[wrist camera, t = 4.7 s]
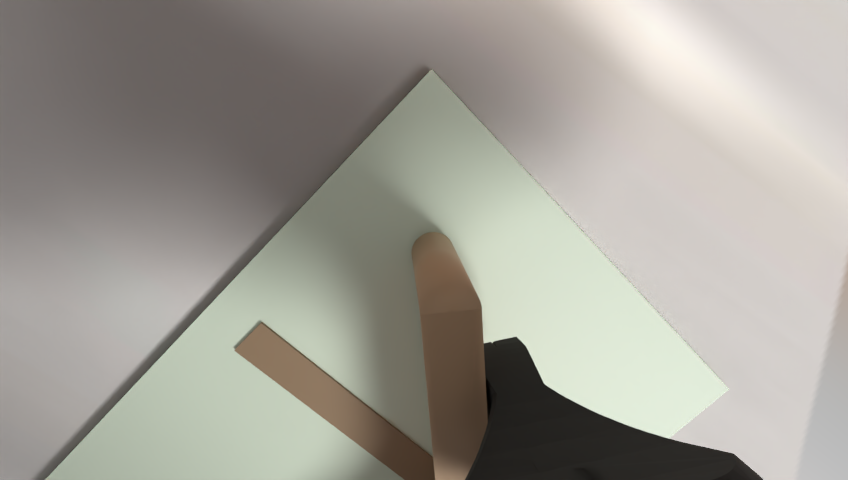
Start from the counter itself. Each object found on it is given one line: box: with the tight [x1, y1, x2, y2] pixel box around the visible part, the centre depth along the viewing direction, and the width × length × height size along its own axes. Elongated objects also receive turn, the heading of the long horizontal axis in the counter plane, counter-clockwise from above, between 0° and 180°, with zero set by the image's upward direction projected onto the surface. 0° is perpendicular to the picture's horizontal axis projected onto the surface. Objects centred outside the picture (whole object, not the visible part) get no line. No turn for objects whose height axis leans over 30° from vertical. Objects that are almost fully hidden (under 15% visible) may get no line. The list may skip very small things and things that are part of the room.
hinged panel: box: [412, 232, 488, 480], centre depth 11 cm, size 1×8×4 cm, turn 5°
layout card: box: [45, 69, 729, 480], centre depth 14 cm, size 14×18×1 cm
